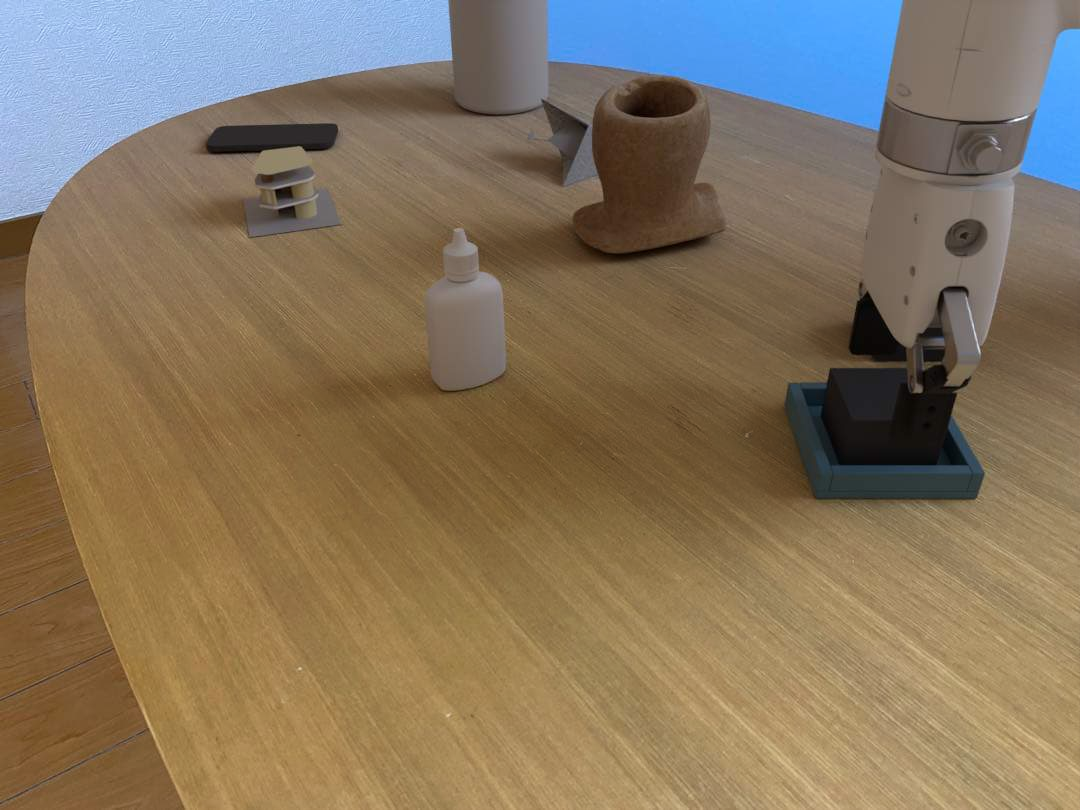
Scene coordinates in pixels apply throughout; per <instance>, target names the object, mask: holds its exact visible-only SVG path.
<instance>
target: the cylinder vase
mask: <svg viewBox="0 0 1080 810" xmlns="http://www.w3.org/2000/svg"><path fill="white" fill-rule="evenodd" d="M447 2H448V17H449V31H450V32H449V33H450V47H451V60H452V74H453V76H452V77H453V88H454V99H455V102H456V103H457V104H458V105H459V106H460V107H461V108H463V109H465V110H467V111H470V112H473V113H477V114H482V115H483V114H484V115H498V116H499V115H513V114H520V113H525V112H529V111H533V110H535V109H537V108H540V107H541V106H543V104H542V101H541V99H543V100H545V101H548V99H549V25H548V24H549V21H548V20H549V19H548V17H549V16H548V15H549V14H548V0H448V1H447Z"/></svg>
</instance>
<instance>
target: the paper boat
mask: <svg viewBox="0 0 1080 810" xmlns="http://www.w3.org/2000/svg"><path fill="white" fill-rule="evenodd" d="M541 101H542V106H543V109H544V112H545V115H546V118H547V120H548V123H549V126H550V129H551V131H552V134H553V135H551V136H550V137H549V138H548V139H544V138H537V137H536V135H535V133H534V130H533V129H532V128H531V129H530V130H529V133H528V136H527V139H528V140H529V139H530V140H534V141H536V140H537V141H544V142H549V143H550V144H551V145H553V146H554V147H556V148H557V149H558V151H559V154H560V156H561V160H562V162H563V163H562V164H563V165H562V187H563V188H564V187H567V186H570V185H572V184H575V183H578V182H581V181H584V180H586V179H589V178H592V177H594V176H598V173H597V169H596V166H595V162H594V158H593V152H592V126H593V124H591V123H590V122H589V121H587V120H586V119H585V118H583V117H581V116H578V115H576V114H575V113H572V112H570V111H569V110H566V109H564V108H563V107H560V106H558V105H555V104H554V103H552V102H550V101H548V100H546V101H545V100H543V99H541Z"/></svg>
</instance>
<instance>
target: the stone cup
mask: <svg viewBox="0 0 1080 810" xmlns="http://www.w3.org/2000/svg"><path fill="white" fill-rule="evenodd" d="M593 111H594V112H593V117H592V118H593V119H592V125H593V126H592V152H593V158H594V162H595V166H596V169H597V173H598V174H597V176H598V178H599V181H600V185H601V190H602V197H603V200H602V201H598V202H594V203H593V202H592V203H590V204H588V205H583V206H582V207H580V208H578V209H577V210H576V211H575V212H574V213H573V215H572V217H571V221H572V227H573V229H574V232H575V233H576V234H577V236H578V237H579V239H581V240H582V241H583V242H584V243H586V244H587V245H588V246H590V247H592V248H594V249H597V250H600V251H601V252H603V253H607V254H628V253H634V252H642V251H648V250H652V249H658V248H663V247H667V246H671V245H675V244H680V243H684V242H688V241H692V240H696V239H700V238H703V237H708V236H712V235H716V234H721V233H724V232H725V231H727V221H726V217H725V215H724V212H723V211H722V208H721V205H720V204H719V202H718V199H719V196H718V195H719V194H718V191H717V189H716V188H715V186H713V184H711V183H709V182H697V183H695V182H696V179H697V175H698V173H699V172H698V171H699V169H700V165H701V163H702V160H703V157H704V155H705V153H706V149H707V147H708V143H709V139H710V135H711V112H710V105H709V102H708V97H707V95H706V93H705V92H704V91H703V89H702V88H701V87H700V86H699V85H698V84H696V83H694V82H693V81H691V80H688V79H686V78H683V77H679V76H673V75H665V74H658V75H654V74H649V75H643V76H639V77H637V78H634V79H632V80H629V81H628V82H626V83H624V84H620V85H614V86H612V87H610V88H609V89H607V90H606V91H605V92H604V93H603V94H602V95H601V97H600V98H599V99H598V101H597V103H596V105H595V106H594V110H593Z"/></svg>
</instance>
